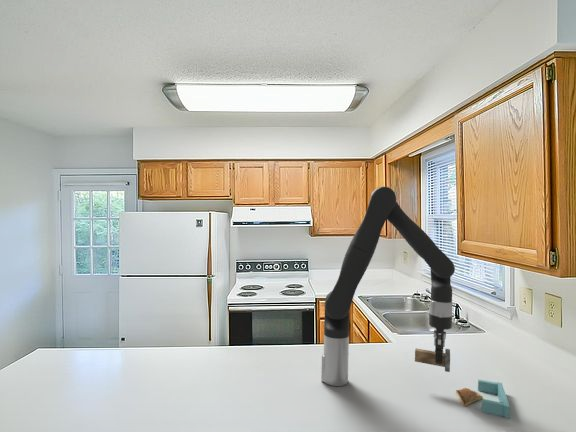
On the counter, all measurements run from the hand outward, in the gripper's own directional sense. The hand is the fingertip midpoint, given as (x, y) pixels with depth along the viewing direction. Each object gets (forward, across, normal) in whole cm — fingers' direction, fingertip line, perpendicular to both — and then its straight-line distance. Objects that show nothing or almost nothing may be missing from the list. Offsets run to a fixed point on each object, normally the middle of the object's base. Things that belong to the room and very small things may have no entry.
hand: (438, 361), depth 130 cm
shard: (+11, +1, +11) cm, 15 cm away
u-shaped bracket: (+10, 0, +17) cm, 20 cm away
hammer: (+1, 0, -3) cm, 3 cm away
